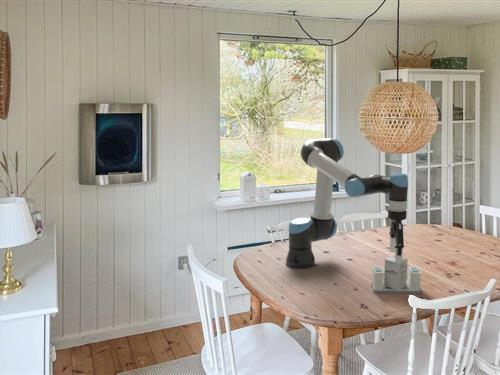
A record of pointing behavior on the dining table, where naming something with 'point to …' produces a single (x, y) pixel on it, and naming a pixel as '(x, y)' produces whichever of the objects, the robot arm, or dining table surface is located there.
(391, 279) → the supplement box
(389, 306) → the dining table surface
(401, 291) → the grey holder stand
